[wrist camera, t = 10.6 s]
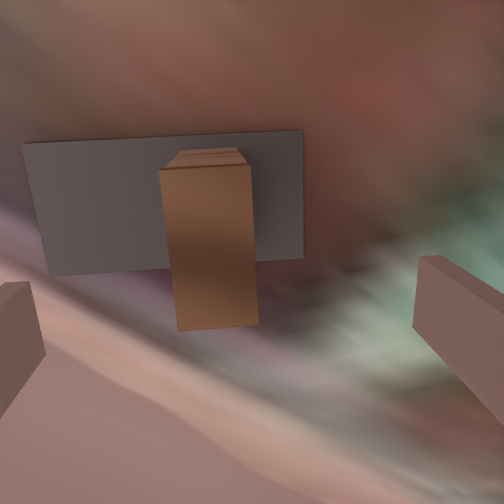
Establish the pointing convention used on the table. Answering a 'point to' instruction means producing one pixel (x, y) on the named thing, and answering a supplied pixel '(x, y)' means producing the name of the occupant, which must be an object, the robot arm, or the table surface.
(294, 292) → the table surface
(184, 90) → the table surface
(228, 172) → the slab
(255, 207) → the mat
